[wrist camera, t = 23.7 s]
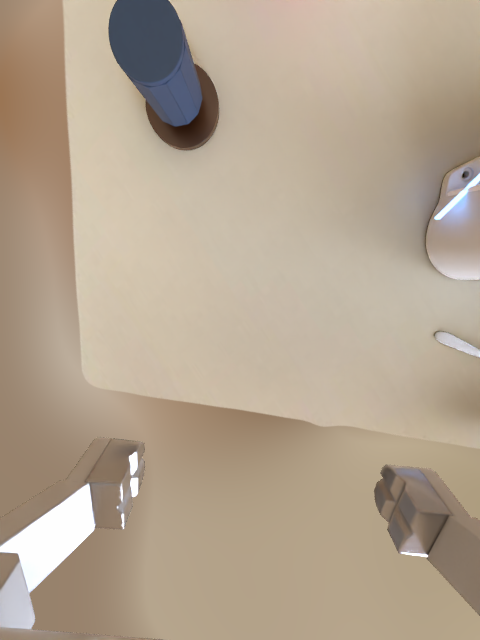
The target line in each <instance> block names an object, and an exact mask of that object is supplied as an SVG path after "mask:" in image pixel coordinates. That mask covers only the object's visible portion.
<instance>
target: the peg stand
mask: <svg viewBox="0 0 480 640" xmlns="http://www.w3.org/2000/svg"><path fill="white" fill-rule="evenodd" d="M194 65H195V68H196V72H197V75H198V78H199V82H200V87H201V93H202V102H201V106H200V110H199V113H198V115H197V116H196V117H195V118H194V119H193V120H192V121H191V122H190V123H189V124H187V125H182V126H173V125H170V124H168V123H166V122H163V121H162V120H161V119H160V117H159V116H158V115H157V113H156V112H155V111H154V109H153V108H152V107H151V106H150V104H149V103H148V102H147V100H146V111H147V115H148V119H149V121H150V124H151V125H152V127H153V129H154V131H155V132H156V133H157V134H158V136H159V137H160V138H161V139H162V140H163V141H164V142H165V143H167V144H168V145H170V146H172V147H174V148H176V149H180V150H192V149H196V148H198V147H200V146H202V145H203V144H205V143H206V142H207V141H208V140H209V139H210V137H211V136H212V135H213V133H214V131H215V129H216V126H217V123H218V118H219V102H218V97H217V93H216V90H215V87H214V85H213V82H212V81H211V79H210V77H209V76H208V75H207V74H206V72H205V71H204V70H203V69H201V68H200V67H199V66H198V65H196V64H194Z"/></svg>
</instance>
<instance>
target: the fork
mask: <svg viewBox="0 0 480 640" xmlns="http://www.w3.org/2000/svg"><path fill="white" fill-rule="evenodd" d="M435 338H436V339H437V341H439V342H440V343H442V344H444V345H447V346H449V347H452V348H455V349H457V350H460V351H463V352H465V353H468V354H470V355H473V356H475V357H478V358H480V350H479V349H477V348H475V347H473V346H472V345H470V344H468V343H466V342H465V341H463V340H461V339H459V338H458V337H456V336H454V335H452V334H450V333H447V332H444V331H443V332H436V333H435Z"/></svg>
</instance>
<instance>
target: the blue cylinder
mask: <svg viewBox="0 0 480 640" xmlns="http://www.w3.org/2000/svg"><path fill="white" fill-rule="evenodd" d="M109 40H110V45H111V49H112V52H113V54H114V57H115V59H116V61H117V63H118V64H119V65H120V67H121V68H122V69H123V71H124V72H125V73H126V75H127V76H128V77H129V79H130V80H131V81H132V82H133V84H134V85H135V86H136V88H137V89H138V90H139V91H140V93H141V94H142V95H143V97H144V98H145V99H146V100H147V102H148V103H149V104H150V106H151V107H152V108H153V109H154V111H155V112H156V113H157V115H158V116H159V117H160V119H161V120H162V121H163V122H166V123H168V124H170V125H173V126H182V125H187V124H189V123H190V122H191V121H192V120H193V119H194V118H195V117H196V116H197V115H198V113H199V110H200V106H201V102H202V93H201V87H200V82H199V78H198V75H197V72H196V68H195V65H194V62H193V59H192V55H191V52H190V49H189V46H188V42H187V39H186V36H185V32H184V29H183V26H182V23H181V21H180V19H179V17H178V15H177V13H176V11H175V9H174V7H173V6H172V4H171V3H170V2H169V1H168V0H117V1H116V3H115V5H114V7H113V9H112V12H111V15H110V19H109Z"/></svg>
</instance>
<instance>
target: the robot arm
mask: <svg viewBox="0 0 480 640" xmlns="http://www.w3.org/2000/svg"><path fill="white" fill-rule="evenodd" d="M463 173H464V174H465V176H464V178H463V177H462V174H463ZM426 248H427V253H428V256H429V259H430V261H431V263H432V264H433V266H434V267H435V268H436V269H437V270H438V271H439V272H440V273H442V274H443V275H445V276H447V277H450V278H453V279H458V280H480V156H478V157H476V158H474V159H472V160H470V161H469V162H467V163H465V164H463V165H461V166H459V167H457V168H455V169H453V170H451V171H450V172H448V173H447V174H446V176H445V177H444V179H443V183H442V188H441V195H440V200H439V203H438V205H437V207H436V209H435V211H434V213H433V215H432V217H431V219H430V222H429V225H428V229H427V234H426ZM144 450H145V448H144V443H143V442H139V441H131V440H123V439H115V438H113V439H112V438H104V437H97V438H96V439H94V440H93V442H92V443H91V444H90V446H89V447H88V449H87V450H86V451H85V453H84V454H83V456H82V457H81V459H80V460H79V461H78V463H77V464H76V466H75V467H74V469H73V470H72V471H71V473H70V474H69V476H68V477H67V479H66V480H65V481H64V480H60V481H58V482H56V483H55V484H53V485H52V486H50V487H48V488H47V489H45V490H44V491H42V492H41V493H39V494H37V495H36V496H34V497H33V498H31V499H29V500H28V501H26V502H25V503H23V504H22V505H20V506H19V507H17V508H15V509H14V510H12V511H10V512H9V513H7V514H6V515H4V516H2V517H1V518H0V640H162V639H148V638H135V637H123V636H110V635H97V634H83V633H71V632H58V631H44V630H32V629H31V628H32V626H33V624H34V622H35V614H34V610H33V606H32V602H31V599H30V595H29V593H30V592H31V591H32V590H33V589H34V588H35V587H36V586H37V585H38V584H39V583H40V582H41V581H42V580H44V579H45V578H46V576H48V575H49V574H50V573H51V572H52V570H54V569H55V568H56V567H57V566H58V565H59V564H60V563H61V562H62V561H63V560H64V559H65V558H66V557H67V556H68V555H69V554H70V553H71V552H72V551H73V550H74V549H75V548H76V547H77V546H78V545H79V544H80V543H81V542H82V541H83V540H84V539H85V538H86V537H87V536H88V535H89V534H90V533H91V532H93V531H94V528H105V529H124V527H125V524H126V522H127V519H128V517H129V515H130V512H131V509H132V507H133V506H132V505H133V504H132V498H133V497H134V496H135V495H136V494H137V493H138V492H139V489H140V486H141V484H142V480H143V476H144V470H145V461H144V460H143V459H142V456H143V453H144ZM381 475H382V477H383V479H381V480H380V481H378V482H377V484H376V487H375V490H374V493H375V502H376V506H377V508H378V510H379V513H380V515H381V516H382V517H383V518H384V519H386V521H387V522H389V523H388V529H387V530H388V532H389V534H390V536H391V538H392V540H393V542H394V544H395V546H396V549H397V551H398V553H400V554H409V555H417V556H425V557H427V559H428V561H430V563H431V564H432V565H433V566H434V567H435V568H436V569H437V570H438V571H439V572H440V573H441V574H442V576H443V577H444V578H445V579H446V580H447V581H448V582H449V583H450V584H451V585H452V586H453V587H454V589H455V590H456V591H457V592H458V593H459V594H460V595H461V596H462V597H463V598H464V599H465V601H466V602H467V603H468V604H469V605H470V606H471V607H472V608H473V609H474V610H475V611H476V612H477V613H478V614H479V616H480V520H478V519H477V518H473V517H470V515H469V514H468V513H467V511H466V510H465V509H464V507H463V506H462V505H461V504H460V502H459V501H458V500H457V499H456V497H455V496H454V495H453V493H452V492H451V491H450V489H449V488H448V487H447V486H446V484H445V483H444V482H443V481H442V479H441V478H440V477H439V475H438V474H437V473H436V472H435V471H434V470H432V469H431V468H419V467H408V466H395V465H385V466H384V467H383V468H382V470H381Z"/></svg>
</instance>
